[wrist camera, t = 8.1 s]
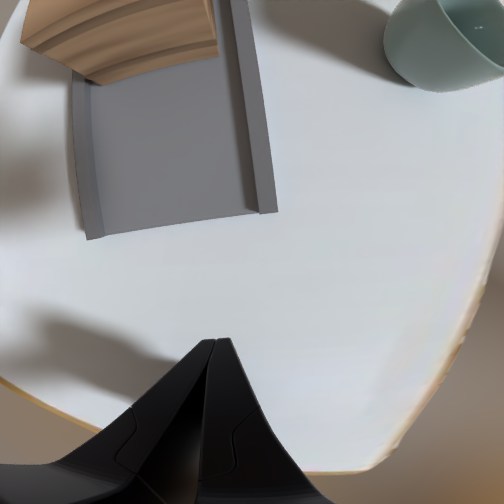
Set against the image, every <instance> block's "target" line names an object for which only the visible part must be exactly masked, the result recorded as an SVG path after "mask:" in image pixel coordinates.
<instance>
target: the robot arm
mask: <svg viewBox="0 0 504 504" xmlns="http://www.w3.org/2000/svg"><path fill="white" fill-rule="evenodd" d="M0 504H336V503H335V502H333V501H332V500H330V499H329V498H327V497H326V496H325V495H323V494H322V493H321V492H320V491H319V490H318V489H317V488H316V487H315V486H314V485H313V484H312V483H311V481H310V480H309V479H308V478H307V477H306V475H305V474H304V473H303V472H302V470H301V469H300V468H299V467H298V465H297V464H296V463H295V461H294V460H293V459H292V458H291V456H290V455H289V454H288V452H287V451H286V450H285V448H284V447H283V446H282V444H281V443H280V441H279V440H278V438H277V437H276V435H275V434H274V432H273V431H272V429H271V427H270V425H269V423H268V421H267V419H266V417H265V415H264V413H263V411H262V409H261V407H260V405H259V402H258V400H257V398H256V396H255V394H254V391H253V389H252V387H251V385H250V382H249V380H248V378H247V376H246V373H245V371H244V369H243V366H242V364H241V362H240V359H239V357H238V355H237V352H236V350H235V348H234V345H233V343H232V341H231V339H230V338H218V339H217V340H216V339H204V340H202V341H200V342H199V343H198V344H197V345H196V346H195V347H194V348H193V349H192V350H191V351H190V352H189V353H188V354H187V355H186V356H184V357H183V358H182V359H181V360H180V361H179V362H178V363H177V364H176V365H175V366H174V367H173V368H172V369H171V370H170V371H168V372H167V373H166V374H165V375H164V376H163V377H162V378H161V379H160V380H159V381H158V382H157V383H156V384H154V385H153V386H152V387H151V388H150V389H149V390H148V391H147V392H146V393H145V394H144V395H142V396H141V397H140V398H139V399H138V400H137V401H136V402H135V403H134V404H133V405H132V406H131V407H129V408H128V409H127V410H126V411H125V412H124V413H122V414H121V415H120V416H119V417H118V418H117V419H115V420H114V421H113V422H112V423H111V424H110V425H108V426H107V427H106V428H104V429H103V430H102V431H100V432H99V433H98V434H96V435H95V436H94V437H92V438H91V439H89V440H88V441H87V442H85V443H84V444H82V445H81V446H79V447H78V448H76V449H75V450H73V451H72V452H71V453H69V454H68V455H66V456H65V457H63V458H61V459H60V460H57V461H55V462H52V463H49V464H42V465H14V464H0Z"/></svg>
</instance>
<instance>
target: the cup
mask: <svg viewBox="0 0 504 504" xmlns="http://www.w3.org/2000/svg"><path fill="white" fill-rule="evenodd" d="M383 47H384V51H385V55H386V57H387V60H388V62H389V63H390V65H391V66H392V68H393V69H394V70H395V71H396V72H397V73H398V74H399V75H400V76H401V77H402V78H403V79H404V80H406V81H407V82H409V83H410V84H412V85H414V86H416V87H418V88H420V89H423V90H426V91H431V92H437V93H443V92H453V91H459V90H463V89H467V88H470V87H474V86H477V85H480V84H483V83H486V82H489V81H493V80H496V79H499V78H502V77H504V6H503V5H502V4H501V3H500V1H499V0H401V1H400V2H399V4H398V5H397V6H396V8H395V9H394V11H393V12H392V14H391V16H390V17H389V19H388V22H387V24H386V27H385V30H384V36H383Z"/></svg>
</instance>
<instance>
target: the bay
mask: <svg viewBox="0 0 504 504" xmlns="http://www.w3.org/2000/svg"><path fill="white" fill-rule="evenodd" d="M213 7H214V15H215V24H216V32H217V40H218V48H219V56H220V57H214V58H208V59H202V60H197V61H192V62H187V63H182V64H178V65H173V66H169V67H165V68H161V69H157V70H153V71H149V72H146V73H142V74H139V75H135V76H132V77H129V78H126V79H122V80H119V81H116V82H113V83H110V84H107V85H105V86H102V85H100V84H98V83H97V82H95V81H93V80H89V79H87V78H86V77H84V76H83V75H82V74H80V73H78V72H77V71H75V70H73V73H72V121H73V141H74V154H75V165H76V175H77V183H78V191H79V198H80V205H81V211H82V217H83V223H84V228H85V234H86V239H87V240H92V239H98V238H101V237H104V236H107V235H112V234H118V233H124V232H130V231H136V230H142V229H148V228H155V227H161V226H167V225H174V224H181V223H187V222H194V221H201V220H208V219H216V218H223V217H231V216H238V215H246V214H254V213H259V214H267V213H275V212H278V206H277V198H276V190H275V182H274V174H273V166H272V158H271V150H270V143H269V136H268V128H267V121H266V114H265V107H264V100H263V94H262V87H261V80H260V74H259V67H258V61H257V55H256V49H255V43H254V37H253V31H252V25H251V19H250V14H249V8H248V3H247V0H213Z"/></svg>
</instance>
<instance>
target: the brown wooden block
mask: <svg viewBox="0 0 504 504" xmlns="http://www.w3.org/2000/svg"><path fill="white" fill-rule="evenodd" d="M20 43H21V44H24V45H26V46H28V47H30V48H31V50H33V51H35V52H37V53H39V54H44V55H46V56H48V57H50V58H52V59H54V60H56V61H58V62H60V63H62V64H63V65H65V66H67V67H69V68H71V69H73V70H75V71H77V72H78V73H80V74H82V75H83V76H84V77H86V78H87V79H89V80H93V81H95V82H97V83H98V84H100V85H102V86H105V85H107V84H110V83H113V82H116V81H119V80H122V79H126V78H129V77H132V76H135V75H139V74H142V73H146V72H149V71H153V70H157V69H161V68H165V67H169V66H173V65H178V64H182V63H187V62H192V61H197V60H202V59H208V58H214V57H220V56H219V48H218V40H217V32H216V24H215V15H214V7H213V0H30V1H29V5H28V9H27V13H26V17H25V21H24V25H23V30H22V35H21V40H20Z"/></svg>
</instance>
